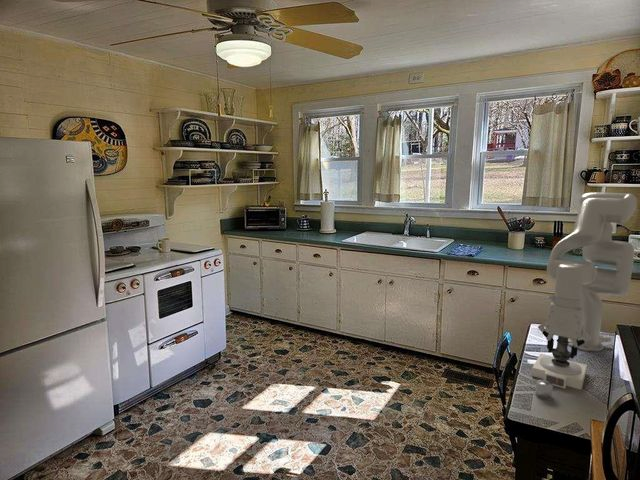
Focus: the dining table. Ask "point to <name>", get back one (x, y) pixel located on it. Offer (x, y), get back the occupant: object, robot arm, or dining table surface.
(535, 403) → the dining table surface
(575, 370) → the scale
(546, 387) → the steel spacer
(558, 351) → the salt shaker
